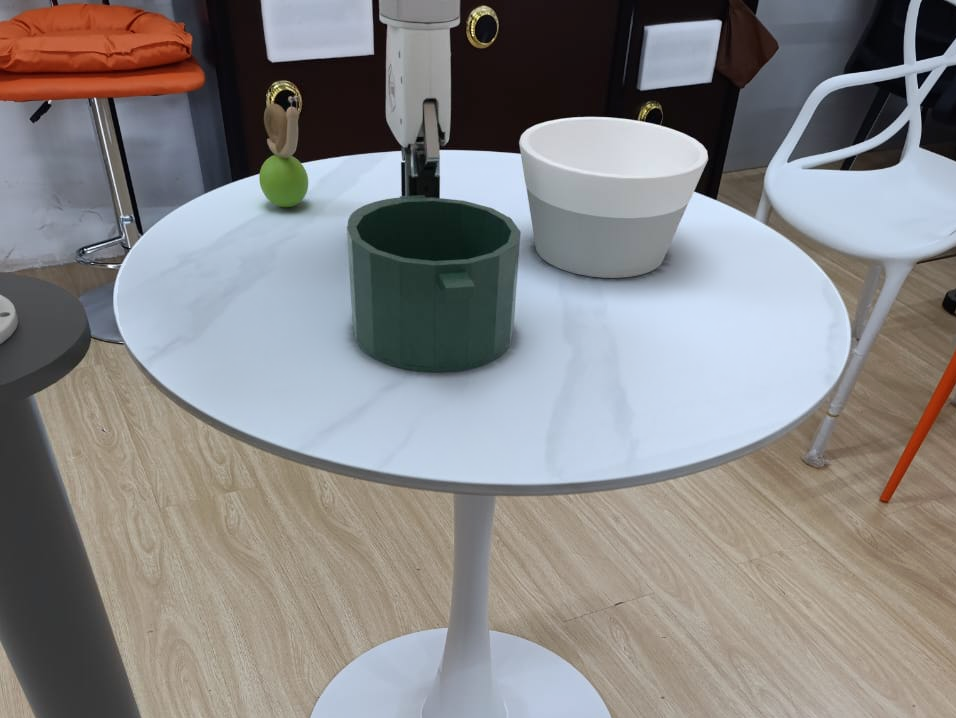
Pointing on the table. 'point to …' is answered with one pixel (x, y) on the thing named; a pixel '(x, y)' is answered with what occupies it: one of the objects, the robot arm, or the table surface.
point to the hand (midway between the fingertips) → (420, 207)
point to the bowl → (607, 192)
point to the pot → (433, 283)
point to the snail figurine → (283, 158)
